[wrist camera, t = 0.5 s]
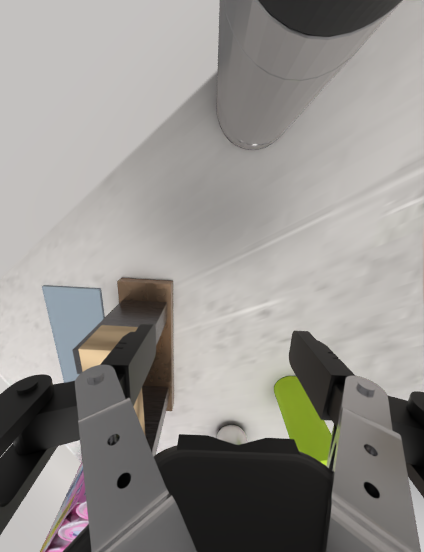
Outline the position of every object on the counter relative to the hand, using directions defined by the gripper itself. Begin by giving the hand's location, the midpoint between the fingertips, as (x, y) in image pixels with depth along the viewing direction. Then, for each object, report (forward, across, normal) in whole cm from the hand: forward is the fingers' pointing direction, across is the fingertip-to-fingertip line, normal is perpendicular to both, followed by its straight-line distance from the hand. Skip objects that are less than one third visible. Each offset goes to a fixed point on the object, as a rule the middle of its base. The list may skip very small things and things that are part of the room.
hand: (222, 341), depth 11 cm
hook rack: (+21, +11, +15) cm, 28 cm away
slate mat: (+21, +23, +17) cm, 35 cm away
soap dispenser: (+21, -15, +23) cm, 35 cm away
